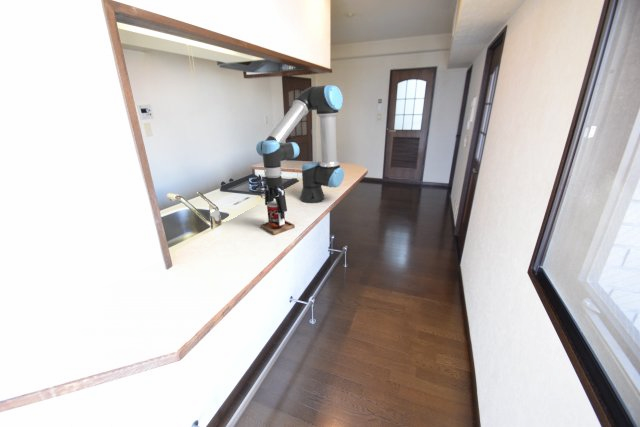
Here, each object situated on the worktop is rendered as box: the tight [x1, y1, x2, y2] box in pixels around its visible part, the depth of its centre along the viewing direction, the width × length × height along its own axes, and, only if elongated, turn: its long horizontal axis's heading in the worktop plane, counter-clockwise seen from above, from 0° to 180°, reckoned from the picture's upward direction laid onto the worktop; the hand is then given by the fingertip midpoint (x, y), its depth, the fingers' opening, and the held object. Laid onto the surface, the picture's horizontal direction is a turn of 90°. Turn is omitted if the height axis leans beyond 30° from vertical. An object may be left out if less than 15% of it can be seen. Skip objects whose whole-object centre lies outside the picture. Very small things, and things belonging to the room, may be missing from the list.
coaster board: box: [259, 220, 295, 236], centre depth 132 cm, size 12×12×2 cm
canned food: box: [266, 200, 286, 227], centre depth 130 cm, size 8×8×11 cm
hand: (276, 222), depth 132 cm, fingers closed on canned food, 8 cm apart
